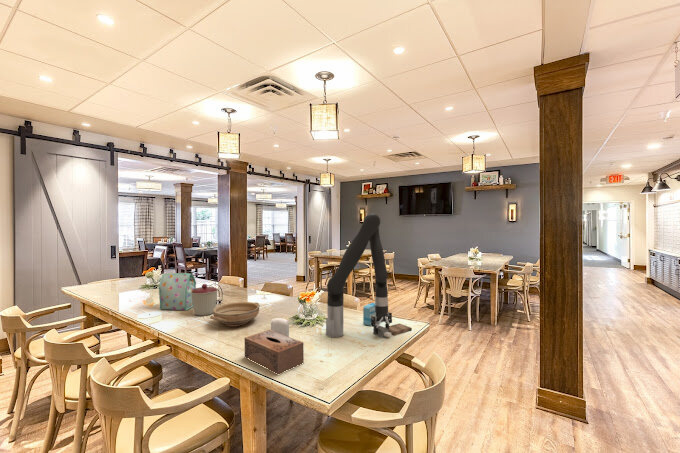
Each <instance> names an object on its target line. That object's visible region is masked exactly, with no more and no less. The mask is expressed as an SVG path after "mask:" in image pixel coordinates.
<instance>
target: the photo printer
mask: <svg viewBox="0 0 680 453" xmlns="http://www.w3.org/2000/svg"><path fill="white" fill-rule="evenodd" d="M270 330H271V331H274V332H277V333H280V334H282V335H285V336H288V337H290V322H289V320H288V319H285V318H282V317H281V318H280V317H276V318H272V319H271V321H270Z"/></svg>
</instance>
